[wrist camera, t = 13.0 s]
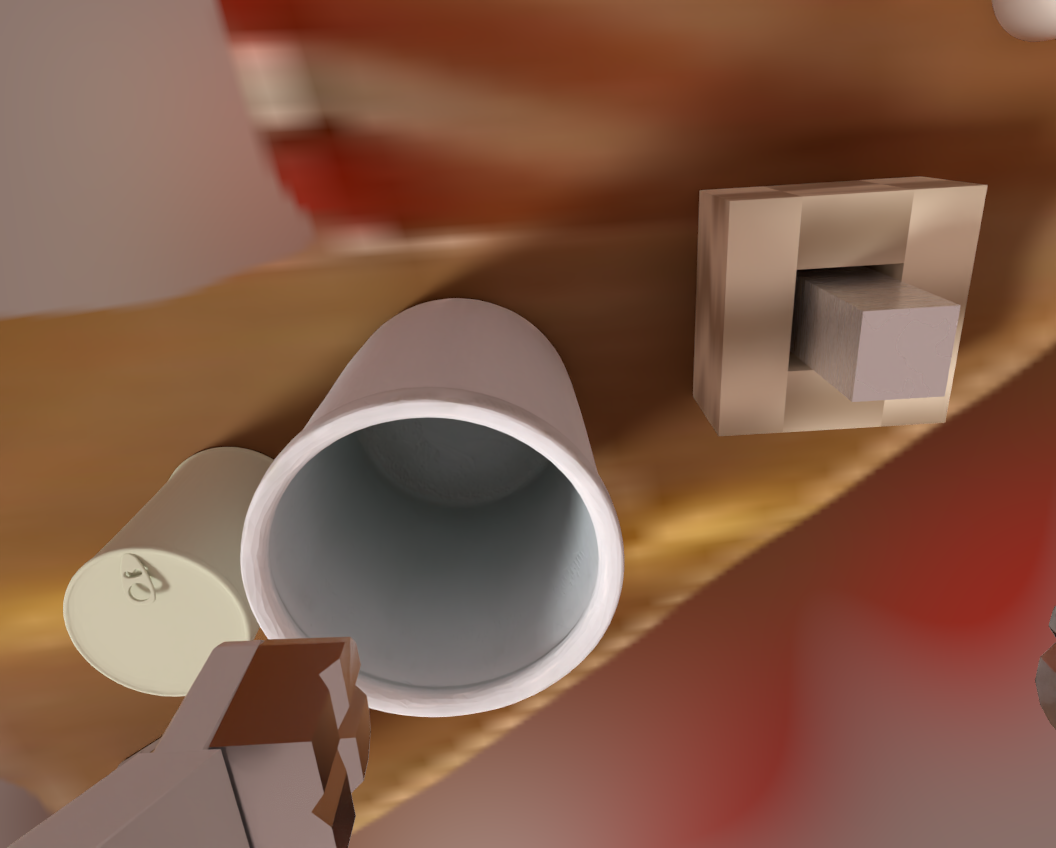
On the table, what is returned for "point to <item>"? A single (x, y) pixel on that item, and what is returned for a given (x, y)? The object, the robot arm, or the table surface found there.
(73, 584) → the can
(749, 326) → the socket block
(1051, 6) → the white rounded block
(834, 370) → the square bar
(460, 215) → the table surface
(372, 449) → the utensil holder
